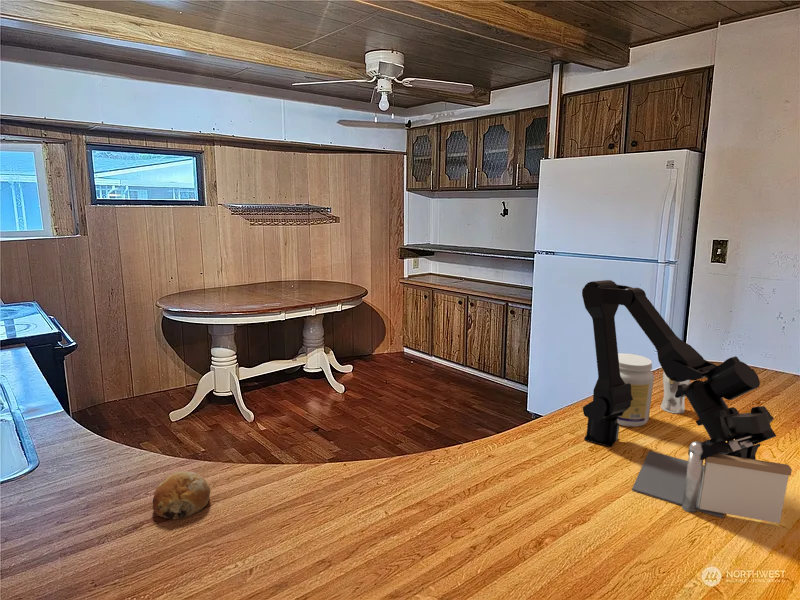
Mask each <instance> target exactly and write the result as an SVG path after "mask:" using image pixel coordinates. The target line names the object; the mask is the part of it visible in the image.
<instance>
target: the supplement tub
mask: <svg viewBox="0 0 800 600" xmlns="http://www.w3.org/2000/svg"><path fill="white" fill-rule="evenodd" d="M618 358H619V368H620V376H621V378H622V380H623V381H624V382H625V384H628V383H630V384H631V395H632V398H633V400H632V401H631V405H630V407H629V408H628V409H627V410H626V411H624V413H623V415H622V416H618V420H617V423H619V424H620V425H619V426H624V427H632V428H633V427H635V428H636V427H641V426H644V425H645V424H647V423H648V422H649V419H650V412H651V405H652V404H651V403H652V397H653V388H654V380H655V375H654V373H653V372H652V369H653V366H652V365H653V362H652V360H651V359H650V358H648V357H647V356H646V357H645V356H643V355H640V354H639V355H638V354H635V353H634V354H633V353H624V352H623V353H622V352H620V353H619V352H618Z"/></svg>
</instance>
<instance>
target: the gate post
mask: <svg viewBox="0 0 800 600" xmlns="http://www.w3.org/2000/svg"><path fill="white" fill-rule="evenodd" d="M701 442H702V441H699V440H695V441H692V442H691V443H689V446H688V451H689V450H690V452H689V455H688V459H687V461H688V466H687V473H686V480H685V487H684V494H683V501H682V506H681V509H682V510H683V511H685V512H687V513H692V514H693V513H696V511H697V510H696V506H697V499H698V493H699V486H700V479H701V473H702V466H703V465H704V460H701V455H702V454H703V449H702V446H701Z"/></svg>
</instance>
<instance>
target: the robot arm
mask: <svg viewBox="0 0 800 600" xmlns="http://www.w3.org/2000/svg"><path fill="white" fill-rule="evenodd" d="M581 295H582V300H583V304H584V309H586V312H587V313H588V314H589V316H590V317H591V319H592V326H593V335H594V338H593V339H594V346H595V356H596V364H597V365H596V366H597V380H596V383H595V385H594V388H593V390H592V391H593V394H592V401H590V402H589V403H587V404H586V405H584V406H582V412H583V416H585V417H586V418H587V426H586V427H587V428H586V434H585V436H584V438H583V441H587V442H590V443H594V444H597V445H601V446H605V447H609V448H612V447H613V445H614V444H615V443H616V442H617V441H618V440H619V433H620V426H621V425H620V424H619V423H617V420H618V416H622V415H623V413H624V411H626V410H627V409H628V408H629V407H630V405H631V401H632V400H633V398H632V395H631V384H630V383H628V384H625V382H624V381H623V380H622V378H621V376H620V368H619V358H618V353H619V349H618V342H617V332H616V331H617V330H616V321H615V319H616V318H615V316H616V314H617V311H618V309H619V307H620V306H625V309H627V310H628V312H629V314H630V315H631V316H632V317H633V319H634V321H635V322H636V323H637V325H638V326H639V328H640V329H641V330H642V331H643V333H644V334H645V336H646V337H647V338H648V340H649V342H650V343H652V345H653V346H654V348H655V350H656V353H657V359H658V362H659V364H660V366H661V368H662V371H664V373H665V374H666V376H667V377H668V378H669V379H670V380H672V381H676V382H683V381H687V380H691V381H693V382H690V384H688V385H686V384H680V385H678V389H677V391H676V394H675V397H676V398H680V397H685V398H687V400H688V402H689V403H690V405H691V407H692V409H693V411H694V412H695V414H696V416H697V417H698V419H697V420H695V423H696V425H697V427H699V426H703V427H704V429H705V431H706V433H707V434H708V436H709V438H710V439H706V440H704V441H700V442H701V446H702V449H703V454H702V455H701V460H703V461H705V458H708V457H710V456H713V455H715V454H722V455H728V456H735V457H741V458H748V459H754V460H757V459H756V454H757V452H758V450H759V448H760V447H761V443H762V442H766V441H768V440H770V439H773V438H776V437H777V434H776V433H775V430H773V428H772V426H771V423H772V422H773V421H774V420H775V418H774V416H773V415H771V412H770V411H769V410H768V408H766V406H764V405H761V406H760V405H759V406H755V407H752V408H751V409H750V412H744V413H740V412H739V411H738V409H737V408H735V407H734V406H732V407H729V405H728V404H727V402H726V401H725V400H727V401H732V400H735V399H736V398H738V397H742V396H744V395H745V394H747V393H749V392H752V391H753V390H756V389H758V388H759V387H760V385H761V384H760V383H761V381H760V378H759V376H758V373H757V372H756V371H755V369H753V368H751V366H749V365H748V364H747V363H745V362H743V361H741V360H740V359H739V357H738V356H736V355H735V356H732V357H729V358H727V359H725V360H724V361H723V362H722V363H720V364H719V365H717V364H715V363H712V361H711V362H710V361H708V360H706V359H704V357H703V356H702V355H701V354H700V353H699V351H697V350H696V349H695V348H694V347H693V346H691V345H690V344H689V343H687V342H686V341H684V340H681V338H680V337H678V336H677V335H676V334H675V332H674V331H673V329H672V328H671V327H670V326H669V324H668V323H667V322H666V319H664V318H663V316H662V315H661V314H660V313H659V311H658V310H657V308H656V307H655V306H654V305H653V303H652V302H651V301H650V300H649V298H648V297H647V293H646V292H645V290H643V289H642V288H640V287H631V286H629V285H624V284H623V285H622V284H617V283H616V282H615V281H613V280H612V279H611V280H610V279H606V280H604V279H603V280H593V281H589V282H587V283H586V284H585V285H584V287H582V291H581ZM704 378H706V379H705V380H704V381H703V380H702V379H704ZM700 379H701V380H700ZM689 452H690V450H689V449H688V451H687V455H688V456H689Z"/></svg>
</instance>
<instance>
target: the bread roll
mask: <svg viewBox="0 0 800 600" xmlns="http://www.w3.org/2000/svg"><path fill="white" fill-rule="evenodd" d="M210 495H211V488H210V486H209V484H208V482H207V481H206V479H205V478H204V477H202V476H201V475H199V474H198V473H196V472H193V471H187V470H185V471H184V470H183V471H174V472H173V473H172V474H171V475H169V476H168V477H167V478H165V479H164V480H163V481H162V482H161V483H159V485H157V487H156V489H155V491H154V492H153V499H152V510H153V512H154V514H156V515H157V516H158V517H159V516H160V518H162V517H164V518H163V519H166V518H173V519H172V520H175V519H174V518H180V519H183V517H184V518H187V517H189V516H192V515H194V514H196V513H198V512H201V510H203V509H204V508H205V507H206V506H207V505H208V503H209V500H210ZM186 516H187V517H186Z"/></svg>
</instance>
